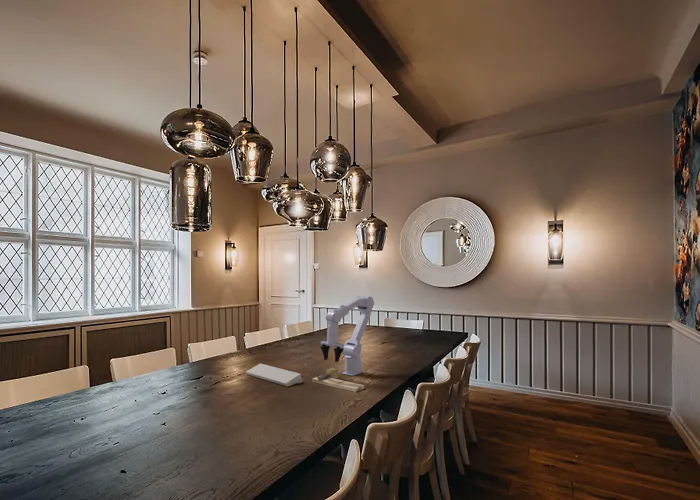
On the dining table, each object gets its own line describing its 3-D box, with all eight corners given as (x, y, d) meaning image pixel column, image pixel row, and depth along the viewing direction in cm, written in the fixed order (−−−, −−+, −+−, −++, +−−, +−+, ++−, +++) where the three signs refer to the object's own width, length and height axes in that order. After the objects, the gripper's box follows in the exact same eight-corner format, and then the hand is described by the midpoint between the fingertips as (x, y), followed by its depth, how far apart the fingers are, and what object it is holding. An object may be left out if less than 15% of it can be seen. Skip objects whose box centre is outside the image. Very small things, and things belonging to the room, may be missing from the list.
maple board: (320, 378, 198) (320, 375, 198) (364, 388, 181) (364, 385, 181) (311, 381, 192) (311, 378, 193) (355, 392, 175) (355, 388, 176)
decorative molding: (287, 392, 185) (302, 382, 192) (285, 383, 184) (300, 373, 191) (247, 379, 207) (262, 371, 214) (245, 371, 206) (260, 363, 214)
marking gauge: (331, 377, 201) (331, 367, 201) (337, 378, 198) (337, 368, 198) (316, 382, 191) (316, 372, 191) (321, 384, 188) (321, 374, 189)
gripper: (317, 333, 200) (315, 359, 199) (338, 336, 191) (337, 363, 190) (326, 332, 206) (324, 357, 204) (346, 335, 197) (345, 362, 196)
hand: (331, 360), depth 198 cm, fingers open, 7 cm apart
